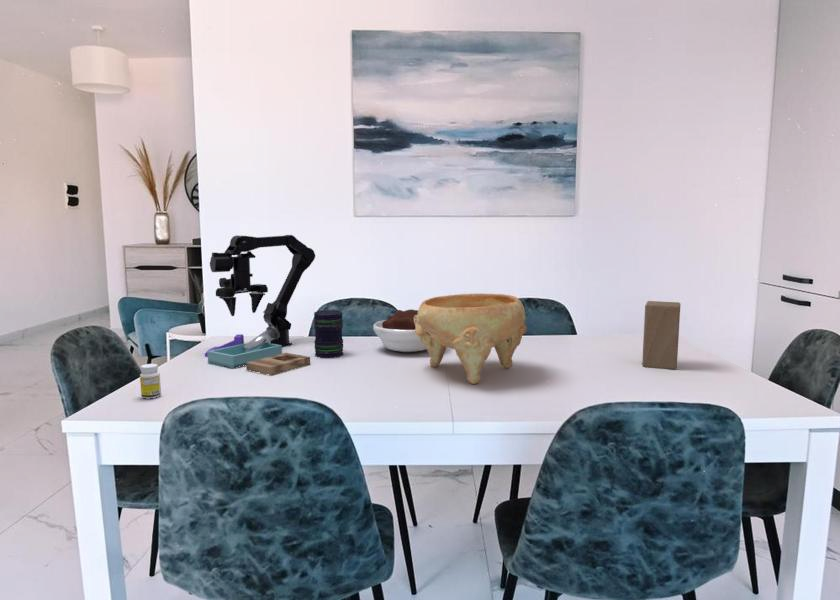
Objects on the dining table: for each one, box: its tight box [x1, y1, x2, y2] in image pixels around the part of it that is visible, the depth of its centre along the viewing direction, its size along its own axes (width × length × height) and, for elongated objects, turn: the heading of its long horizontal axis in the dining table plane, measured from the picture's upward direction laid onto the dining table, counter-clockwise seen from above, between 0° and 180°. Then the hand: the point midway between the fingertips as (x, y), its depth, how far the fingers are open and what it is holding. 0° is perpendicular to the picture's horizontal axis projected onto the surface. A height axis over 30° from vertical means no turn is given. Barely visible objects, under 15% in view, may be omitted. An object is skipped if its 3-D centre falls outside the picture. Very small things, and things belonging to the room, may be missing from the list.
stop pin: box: [242, 325, 280, 353], centre depth 196 cm, size 5×5×13 cm
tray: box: [207, 342, 283, 369], centre depth 191 cm, size 20×13×4 cm, turn 146°
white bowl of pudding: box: [373, 309, 427, 353], centre depth 205 cm, size 25×25×15 cm
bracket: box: [204, 333, 245, 358], centre depth 200 cm, size 12×7×7 cm, turn 98°
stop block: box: [245, 352, 311, 376], centre depth 181 cm, size 16×11×2 cm, turn 146°
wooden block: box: [641, 300, 681, 371], centre depth 182 cm, size 10×10×20 cm
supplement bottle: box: [139, 363, 162, 400], centre depth 150 cm, size 5×5×8 cm
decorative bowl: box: [414, 293, 528, 385], centre depth 175 cm, size 34×35×23 cm
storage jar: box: [313, 309, 344, 359], centre depth 197 cm, size 10×10×15 cm
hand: (243, 314), depth 205 cm, fingers open, 9 cm apart
